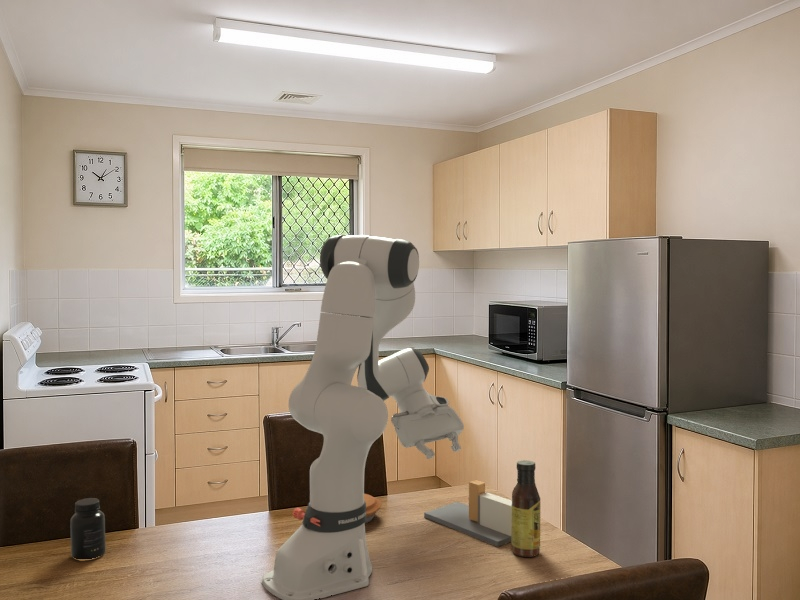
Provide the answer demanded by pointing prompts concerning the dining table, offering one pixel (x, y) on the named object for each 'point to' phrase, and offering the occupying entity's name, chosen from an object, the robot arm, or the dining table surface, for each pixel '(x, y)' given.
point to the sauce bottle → (525, 512)
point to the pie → (371, 506)
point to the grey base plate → (490, 518)
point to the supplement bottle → (87, 530)
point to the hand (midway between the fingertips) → (444, 453)
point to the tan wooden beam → (475, 498)
